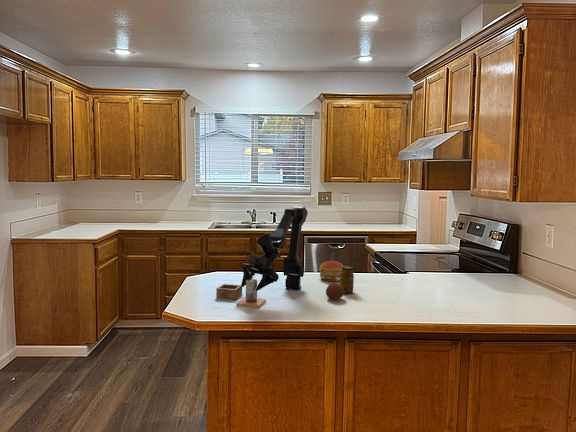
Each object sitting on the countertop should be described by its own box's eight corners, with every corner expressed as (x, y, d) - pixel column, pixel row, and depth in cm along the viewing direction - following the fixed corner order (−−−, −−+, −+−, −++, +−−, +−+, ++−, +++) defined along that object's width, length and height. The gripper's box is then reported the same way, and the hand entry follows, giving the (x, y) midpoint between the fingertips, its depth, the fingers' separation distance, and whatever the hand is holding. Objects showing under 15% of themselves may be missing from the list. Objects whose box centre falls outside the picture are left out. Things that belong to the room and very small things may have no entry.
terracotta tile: (265, 302, 228) (265, 299, 228) (259, 308, 218) (259, 305, 218) (243, 300, 230) (243, 297, 230) (236, 306, 220) (236, 303, 220)
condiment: (350, 290, 252) (350, 265, 251) (358, 294, 244) (359, 269, 243) (336, 291, 250) (336, 266, 248) (344, 295, 242) (344, 269, 240)
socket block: (242, 295, 239) (242, 285, 239) (235, 299, 230) (235, 289, 230) (223, 293, 241) (223, 283, 241) (216, 298, 232) (216, 288, 232)
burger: (314, 278, 278) (315, 259, 277) (337, 276, 283) (337, 257, 282) (326, 283, 266) (326, 263, 265) (349, 281, 271) (350, 262, 270)
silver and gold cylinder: (257, 299, 227) (257, 279, 226) (256, 302, 222) (257, 281, 221) (246, 299, 226) (246, 279, 226) (245, 302, 222) (245, 281, 221)
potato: (340, 295, 241) (341, 279, 240) (347, 301, 231) (347, 285, 230) (322, 296, 240) (323, 280, 239) (328, 302, 229) (329, 285, 228)
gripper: (243, 245, 231) (224, 273, 224) (274, 250, 218) (254, 280, 211) (256, 260, 238) (238, 288, 231) (287, 266, 225) (268, 296, 218)
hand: (249, 288), depth 222 cm, fingers open, 9 cm apart
